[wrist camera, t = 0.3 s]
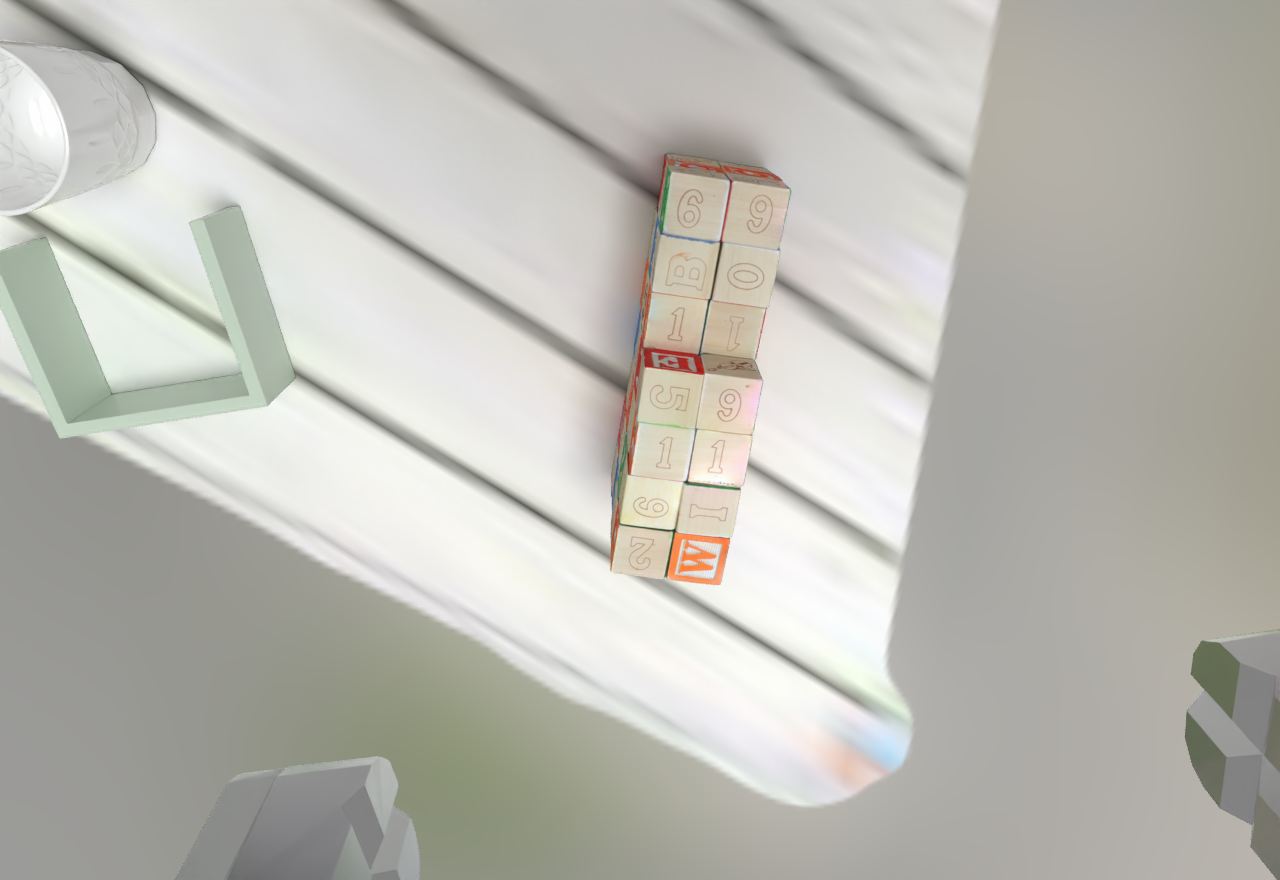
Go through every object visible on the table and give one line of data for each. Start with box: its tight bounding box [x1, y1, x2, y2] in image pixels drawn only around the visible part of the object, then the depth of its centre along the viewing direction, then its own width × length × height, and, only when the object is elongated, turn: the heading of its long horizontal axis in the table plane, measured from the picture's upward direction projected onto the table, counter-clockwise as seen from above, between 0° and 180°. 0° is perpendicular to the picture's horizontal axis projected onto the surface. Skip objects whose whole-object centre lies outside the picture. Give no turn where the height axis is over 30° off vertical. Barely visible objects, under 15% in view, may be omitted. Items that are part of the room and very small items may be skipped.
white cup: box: [0, 39, 156, 216], centre depth 46 cm, size 8×8×10 cm
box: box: [0, 206, 296, 438], centre depth 52 cm, size 11×13×5 cm
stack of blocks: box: [611, 154, 791, 585], centre depth 50 cm, size 21×6×12 cm, turn 171°
